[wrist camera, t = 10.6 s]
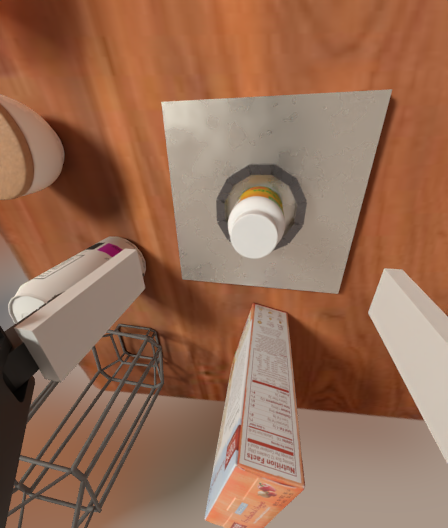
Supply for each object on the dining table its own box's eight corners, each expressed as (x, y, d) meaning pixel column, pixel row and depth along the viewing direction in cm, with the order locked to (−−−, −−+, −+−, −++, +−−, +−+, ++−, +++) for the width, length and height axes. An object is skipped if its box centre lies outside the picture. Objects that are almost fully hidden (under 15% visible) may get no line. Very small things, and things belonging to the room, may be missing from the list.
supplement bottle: (291, 197, 26) (301, 223, 18) (268, 236, 29) (267, 276, 20) (248, 176, 26) (238, 193, 17) (229, 218, 28) (212, 250, 20)
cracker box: (263, 368, 42) (255, 542, 23) (232, 358, 42) (199, 521, 24) (291, 311, 35) (309, 496, 17) (253, 300, 35) (230, 468, 17)
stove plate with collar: (386, 92, 21) (401, 85, 19) (336, 288, 31) (341, 300, 29) (166, 103, 25) (154, 99, 23) (184, 275, 35) (178, 284, 33)
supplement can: (145, 238, 34) (64, 297, 21) (150, 284, 38) (84, 359, 25) (96, 231, 35) (-11, 283, 22) (105, 276, 39) (20, 344, 26)
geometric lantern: (96, 304, 42) (-354, 715, 12) (177, 316, 40) (-109, 853, 10) (112, 362, 50) (-141, 709, 19) (181, 375, 48) (24, 788, 17)
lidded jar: (3, 80, 27) (-112, 53, 19) (84, 123, 28) (6, 114, 20) (8, 167, 33) (-80, 175, 25) (76, 201, 33) (12, 220, 25)
